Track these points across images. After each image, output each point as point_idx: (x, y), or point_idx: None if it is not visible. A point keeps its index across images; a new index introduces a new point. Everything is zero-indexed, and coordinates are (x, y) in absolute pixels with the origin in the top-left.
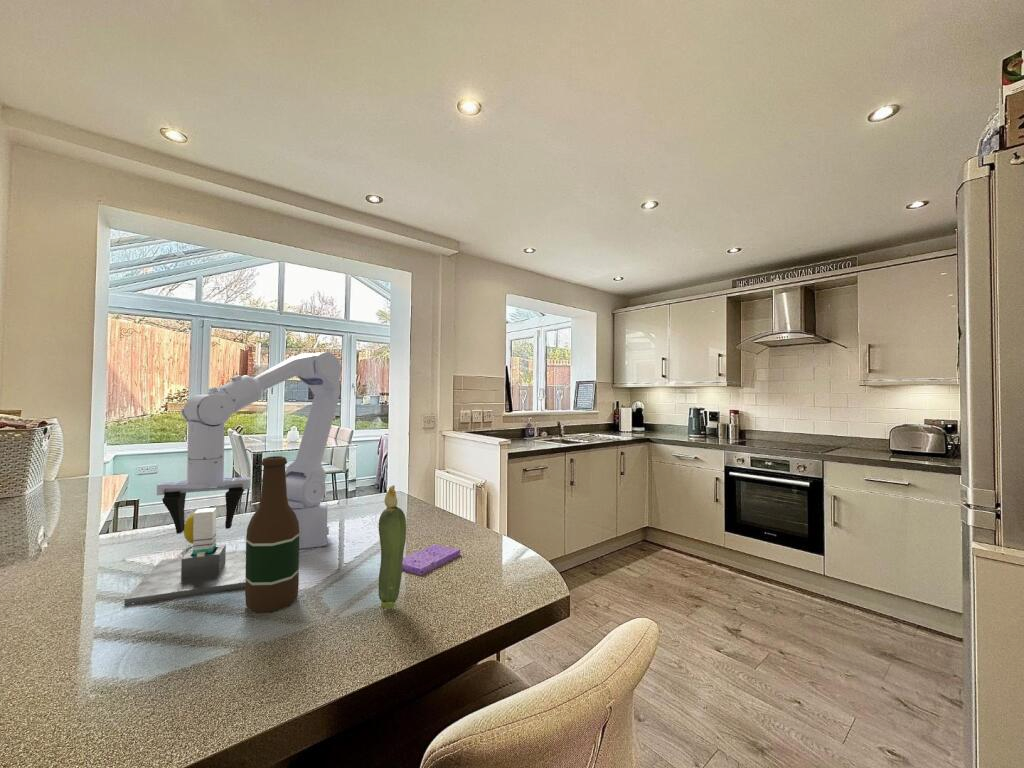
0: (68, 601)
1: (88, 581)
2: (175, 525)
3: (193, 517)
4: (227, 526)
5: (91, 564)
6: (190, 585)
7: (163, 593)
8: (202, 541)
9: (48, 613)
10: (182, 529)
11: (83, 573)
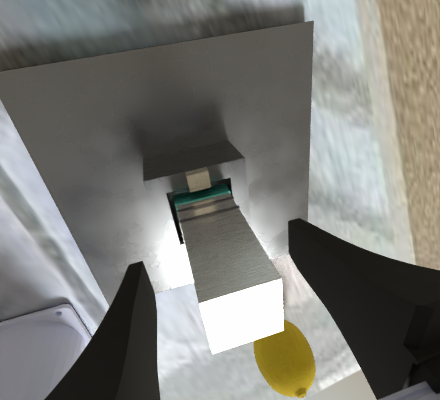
0: (410, 84)
1: (397, 180)
2: (321, 230)
3: (304, 371)
4: (133, 267)
5: (405, 250)
6: (181, 81)
7: (232, 36)
8: (209, 212)
9: (432, 23)
10: (292, 240)
11: (409, 216)
